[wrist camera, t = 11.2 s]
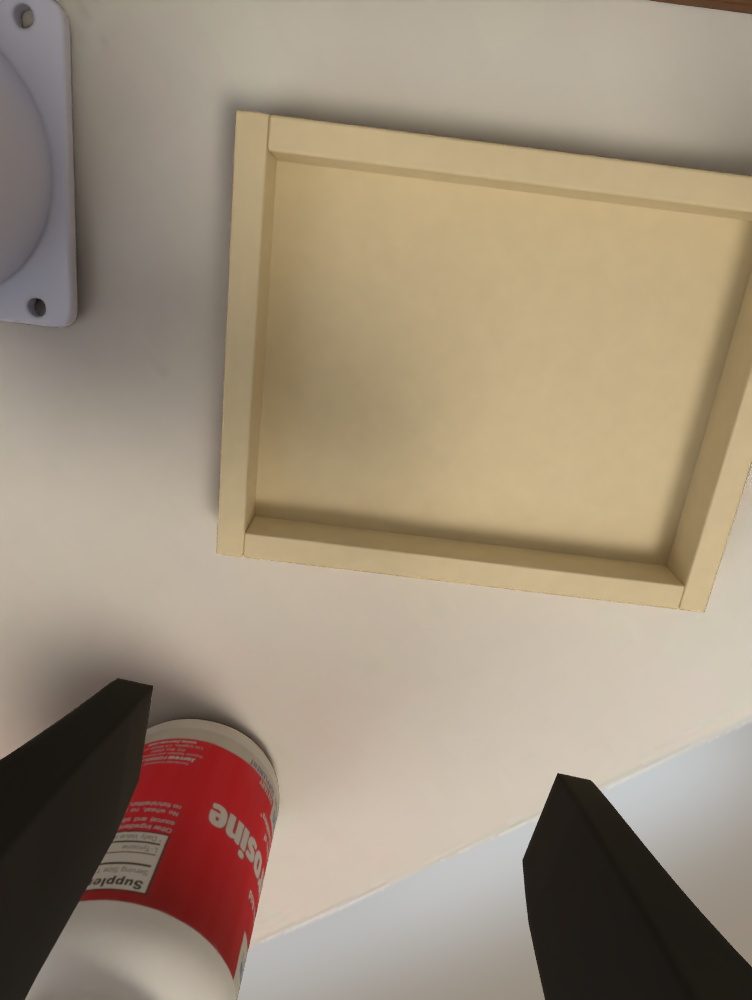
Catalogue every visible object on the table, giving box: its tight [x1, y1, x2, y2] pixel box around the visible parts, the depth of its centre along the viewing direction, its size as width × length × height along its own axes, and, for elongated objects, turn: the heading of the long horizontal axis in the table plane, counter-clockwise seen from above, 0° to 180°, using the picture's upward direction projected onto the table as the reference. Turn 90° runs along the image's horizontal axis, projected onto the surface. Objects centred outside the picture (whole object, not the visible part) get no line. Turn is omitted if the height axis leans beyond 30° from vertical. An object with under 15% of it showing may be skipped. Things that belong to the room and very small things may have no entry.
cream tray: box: [217, 110, 752, 612], centre depth 18 cm, size 15×12×2 cm
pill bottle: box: [25, 719, 279, 1000], centre depth 19 cm, size 6×6×11 cm
